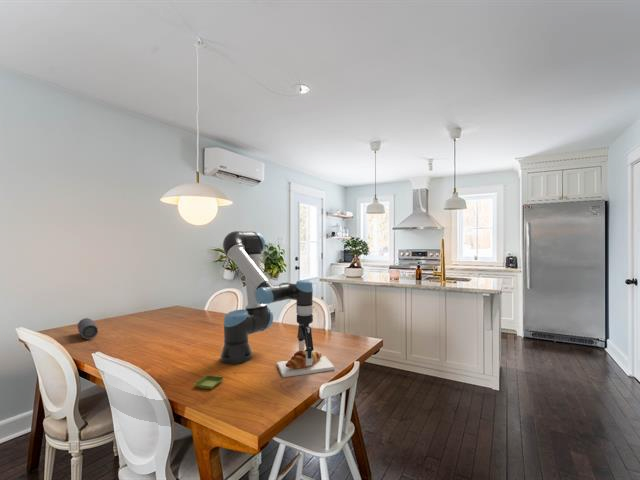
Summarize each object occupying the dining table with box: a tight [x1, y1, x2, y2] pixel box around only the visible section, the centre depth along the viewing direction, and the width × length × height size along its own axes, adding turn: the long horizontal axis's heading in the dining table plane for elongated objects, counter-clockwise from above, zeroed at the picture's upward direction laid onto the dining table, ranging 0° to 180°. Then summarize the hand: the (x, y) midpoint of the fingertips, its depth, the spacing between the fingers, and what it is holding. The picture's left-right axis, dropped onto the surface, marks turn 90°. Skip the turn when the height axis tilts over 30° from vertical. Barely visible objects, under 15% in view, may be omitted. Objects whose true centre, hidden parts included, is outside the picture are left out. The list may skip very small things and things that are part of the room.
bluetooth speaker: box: [77, 317, 99, 340], centre depth 199 cm, size 23×9×10 cm, turn 42°
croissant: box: [286, 349, 323, 369], centre depth 148 cm, size 21×10×8 cm, turn 134°
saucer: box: [193, 374, 225, 390], centre depth 131 cm, size 9×9×2 cm
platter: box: [276, 355, 336, 378], centre depth 148 cm, size 24×14×2 cm, turn 107°
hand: (305, 359), depth 148 cm, fingers open, 13 cm apart
